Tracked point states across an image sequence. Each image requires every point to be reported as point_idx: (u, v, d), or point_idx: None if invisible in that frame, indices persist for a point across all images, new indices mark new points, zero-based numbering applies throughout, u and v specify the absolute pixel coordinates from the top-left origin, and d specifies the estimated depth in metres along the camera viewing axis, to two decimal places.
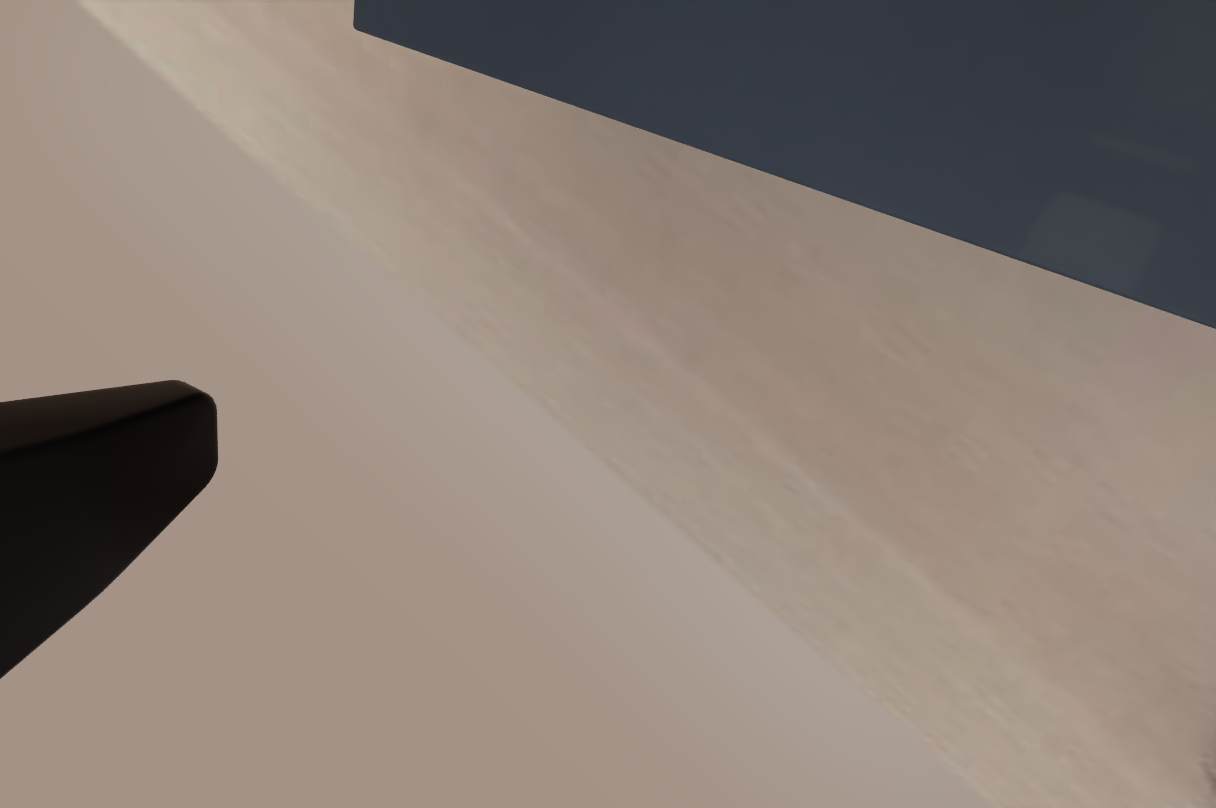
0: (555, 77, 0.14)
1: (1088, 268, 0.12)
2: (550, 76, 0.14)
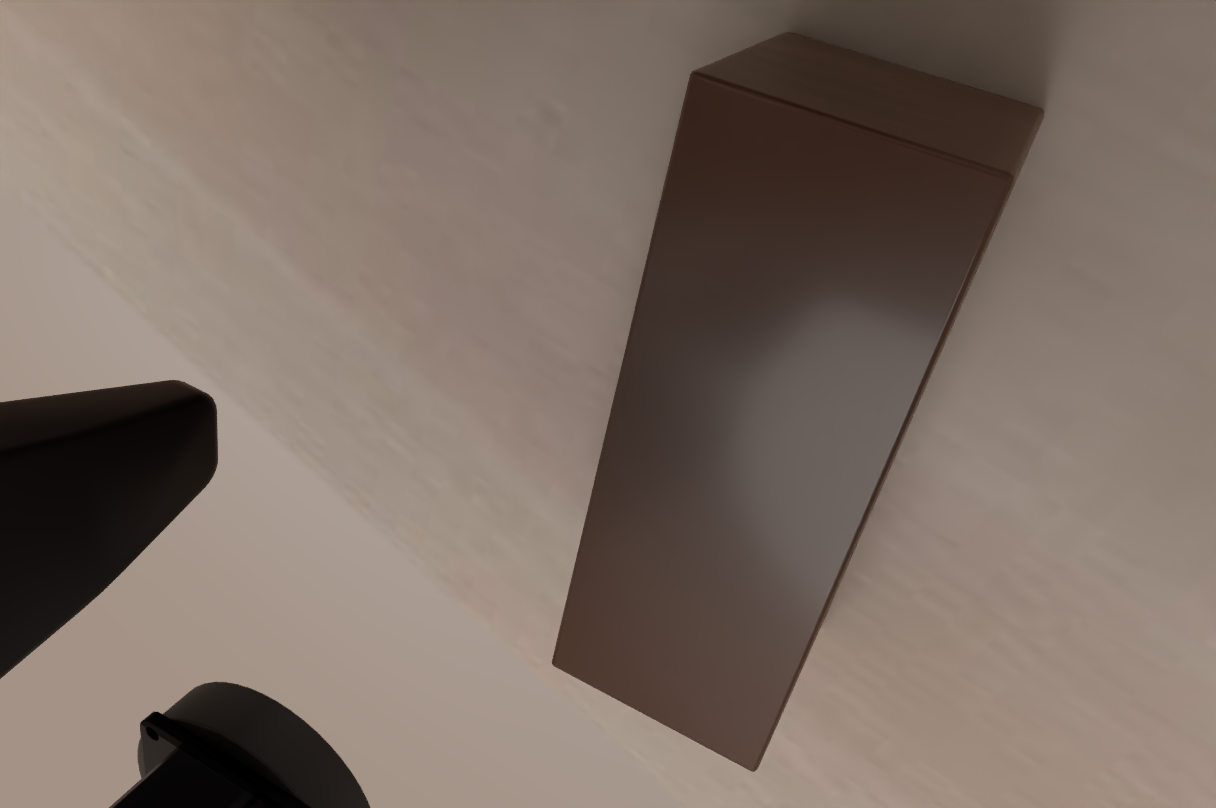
0: None
1: None
2: None
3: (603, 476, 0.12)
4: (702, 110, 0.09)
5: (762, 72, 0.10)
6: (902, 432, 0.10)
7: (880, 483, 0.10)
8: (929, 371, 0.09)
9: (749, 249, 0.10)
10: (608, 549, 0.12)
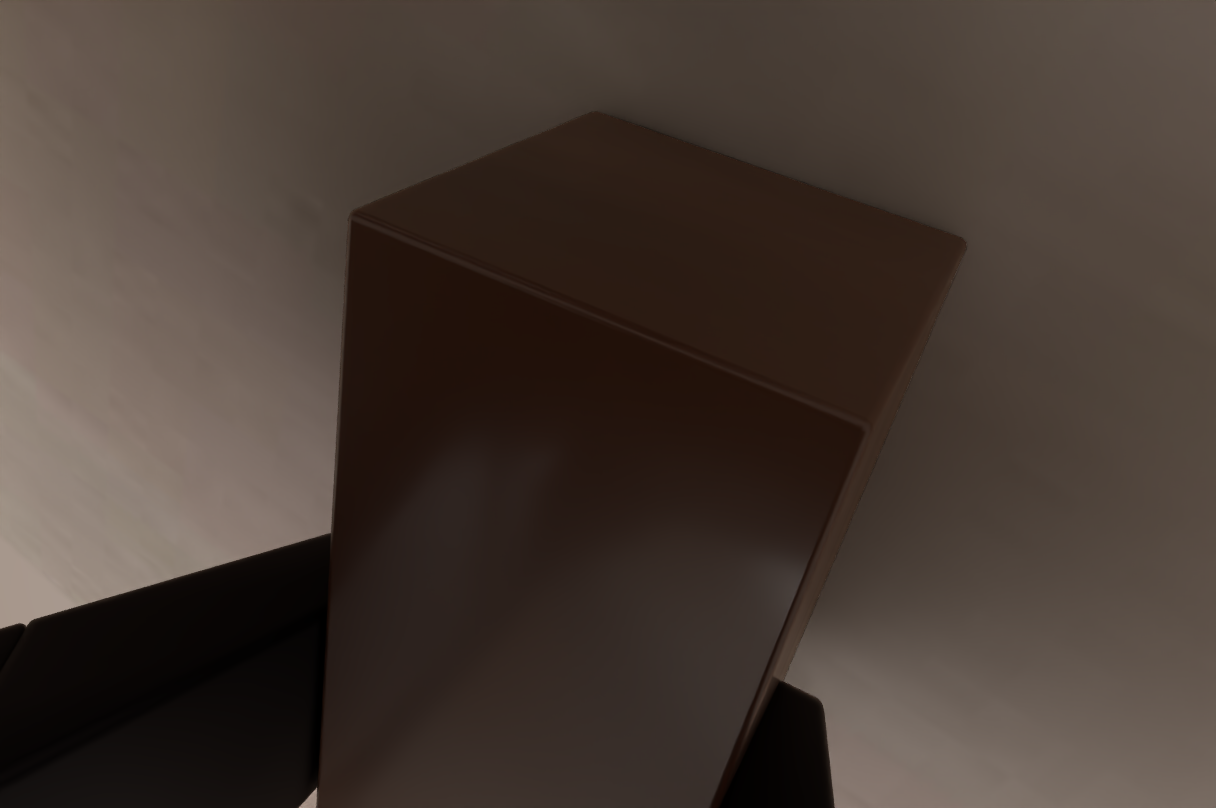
0: None
1: None
2: None
3: (326, 764, 0.08)
4: (374, 273, 0.05)
5: (491, 202, 0.06)
6: (726, 779, 0.06)
7: None
8: (758, 703, 0.06)
9: (471, 492, 0.06)
10: None
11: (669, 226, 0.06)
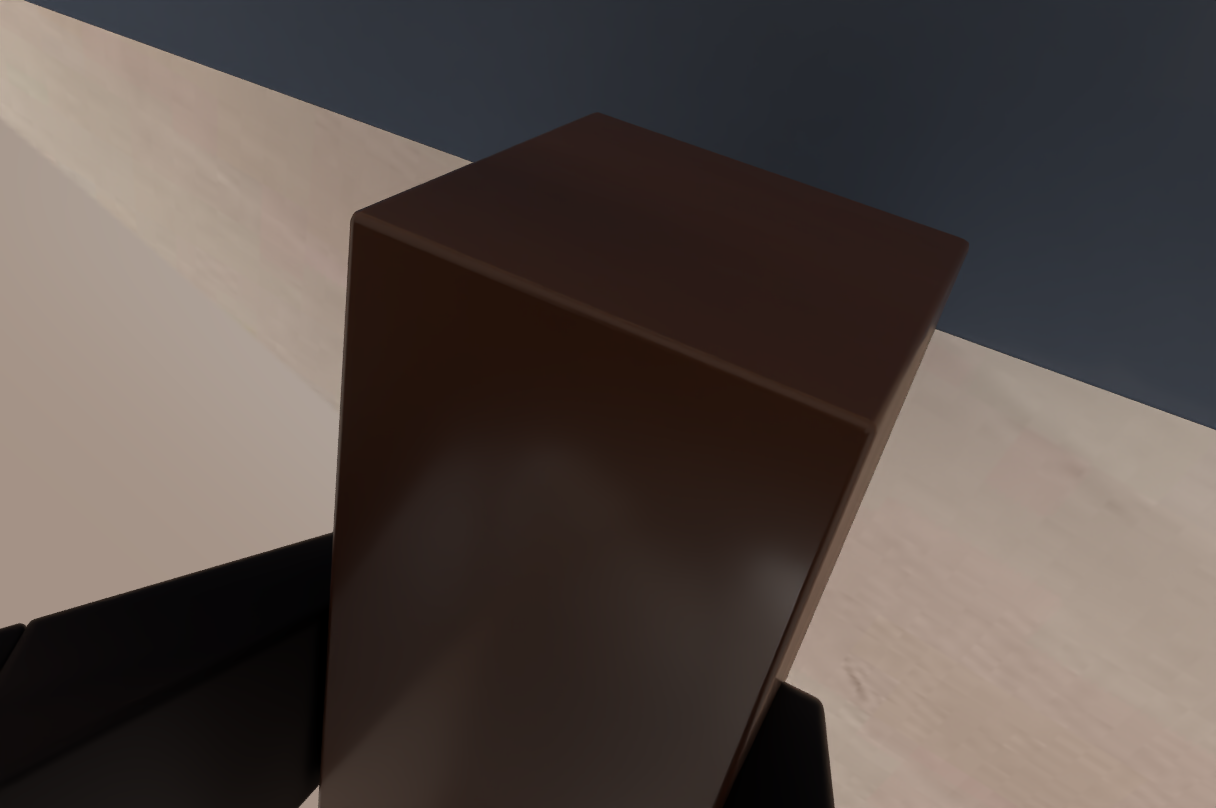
0: (98, 9, 0.15)
1: None
2: (95, 9, 0.15)
3: (328, 766, 0.08)
4: (376, 275, 0.05)
5: (493, 203, 0.06)
6: (729, 781, 0.06)
7: None
8: (761, 704, 0.06)
9: (473, 492, 0.06)
10: None
11: (671, 227, 0.06)
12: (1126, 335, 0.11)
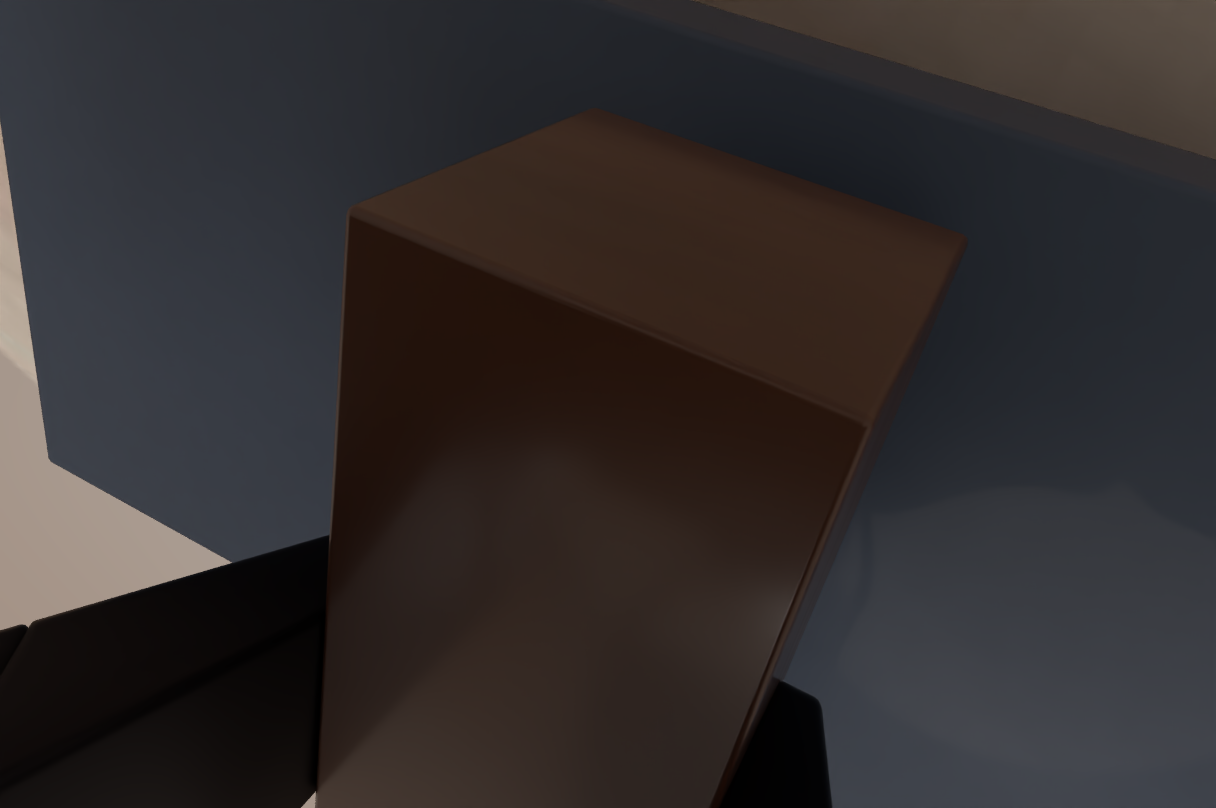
0: (218, 541, 0.14)
1: None
2: (214, 540, 0.14)
3: (325, 764, 0.08)
4: (372, 269, 0.05)
5: (490, 198, 0.06)
6: (727, 778, 0.06)
7: None
8: (759, 700, 0.06)
9: (471, 487, 0.06)
10: None
11: (669, 222, 0.06)
12: None
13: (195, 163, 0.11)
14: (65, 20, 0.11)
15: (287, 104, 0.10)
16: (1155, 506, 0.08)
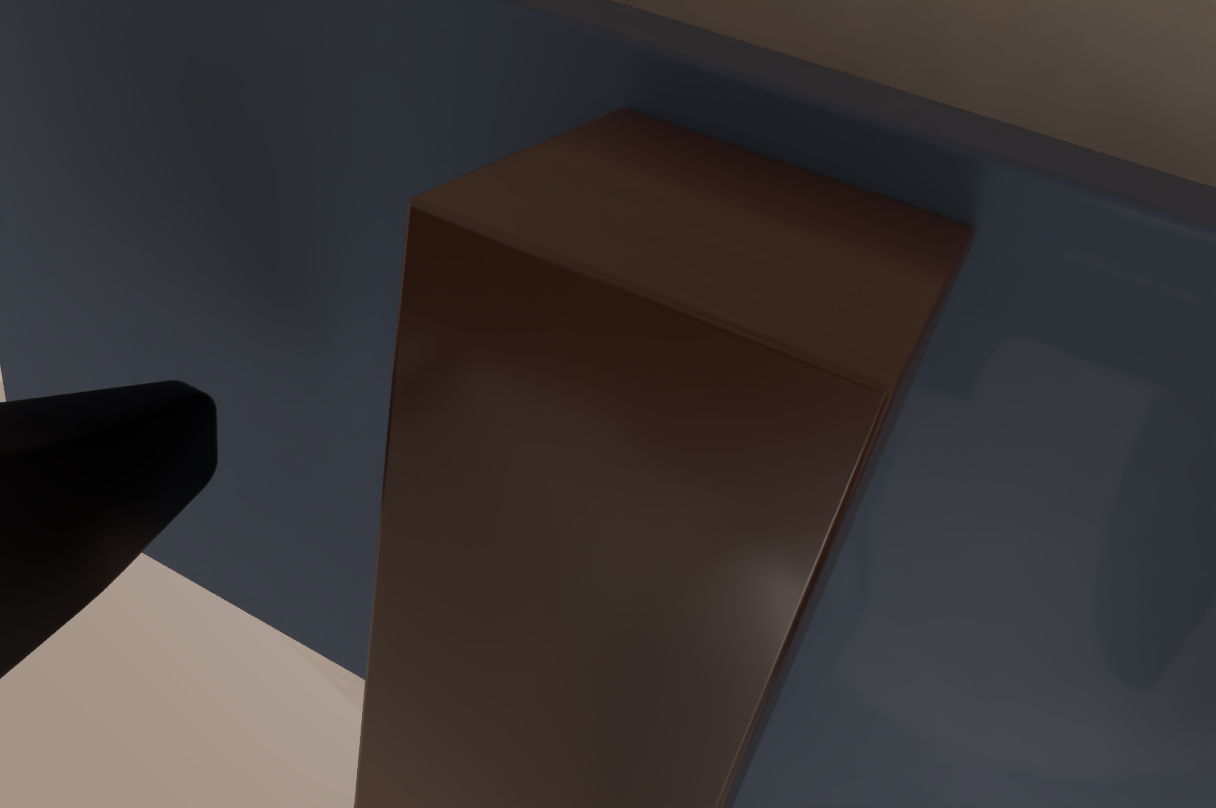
0: (191, 567, 0.14)
1: None
2: (187, 565, 0.14)
3: (369, 725, 0.08)
4: (430, 255, 0.06)
5: (535, 190, 0.06)
6: (753, 727, 0.06)
7: (728, 790, 0.07)
8: (785, 652, 0.06)
9: (517, 459, 0.06)
10: None
11: (699, 213, 0.06)
12: None
13: (161, 182, 0.11)
14: (27, 34, 0.11)
15: (253, 123, 0.10)
16: (1150, 548, 0.08)
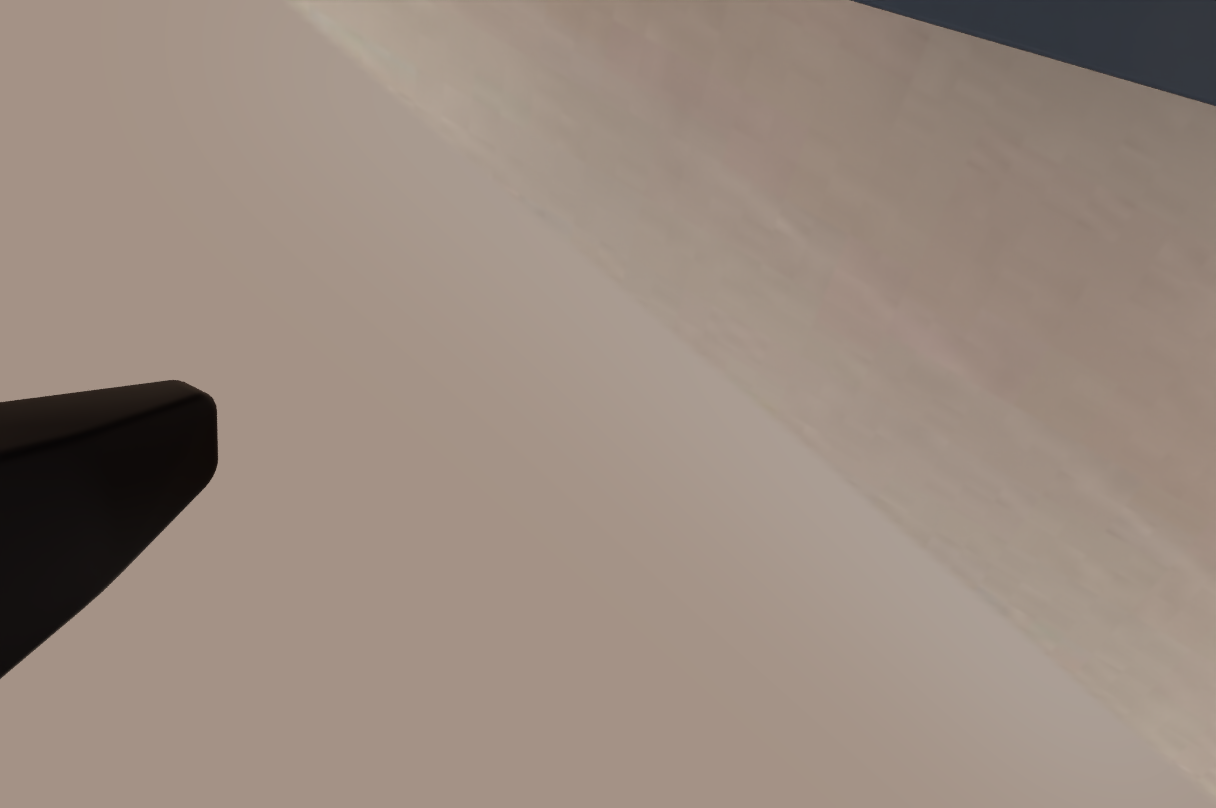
0: (1067, 30, 0.10)
1: None
2: (1059, 30, 0.10)
3: None
4: None
5: None
6: None
7: None
8: None
9: None
10: None
11: None
12: None
13: None
14: None
15: None
16: None
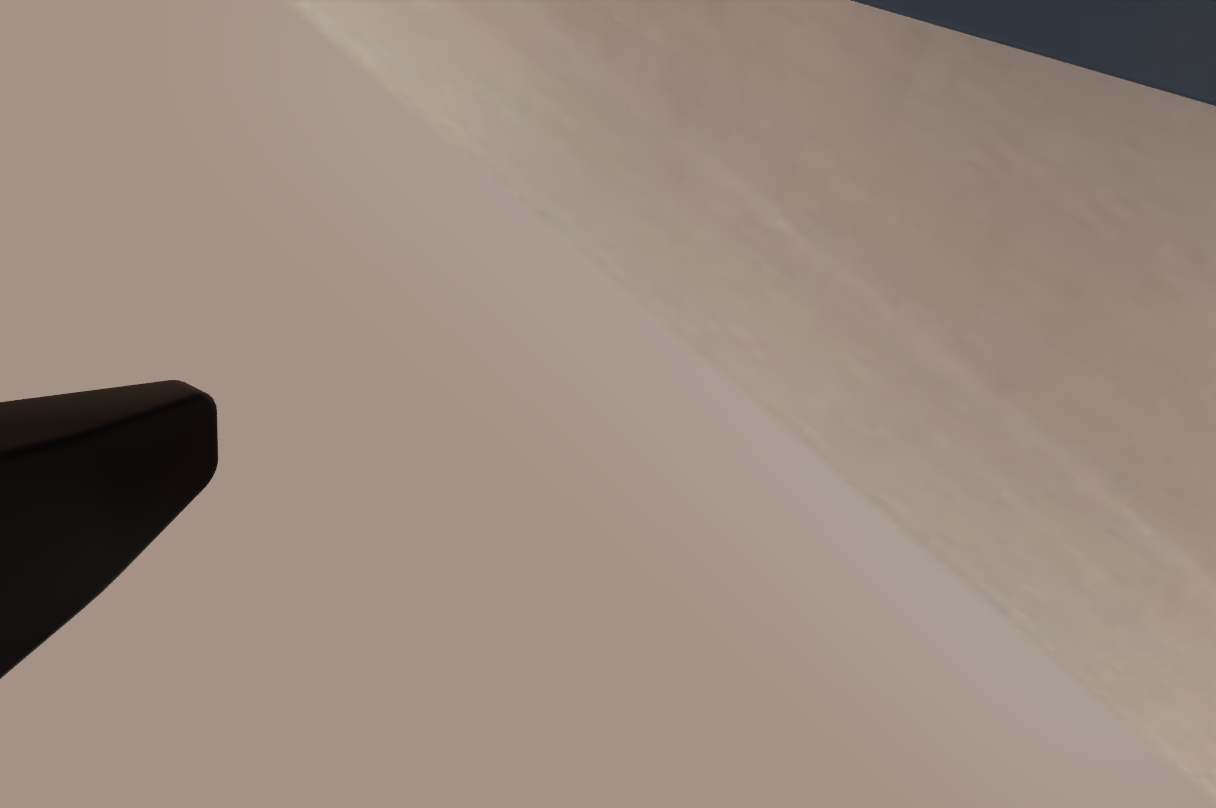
0: (1068, 30, 0.10)
1: None
2: (1060, 30, 0.10)
3: None
4: None
5: None
6: None
7: None
8: None
9: None
10: None
11: None
12: None
13: None
14: None
15: None
16: None
